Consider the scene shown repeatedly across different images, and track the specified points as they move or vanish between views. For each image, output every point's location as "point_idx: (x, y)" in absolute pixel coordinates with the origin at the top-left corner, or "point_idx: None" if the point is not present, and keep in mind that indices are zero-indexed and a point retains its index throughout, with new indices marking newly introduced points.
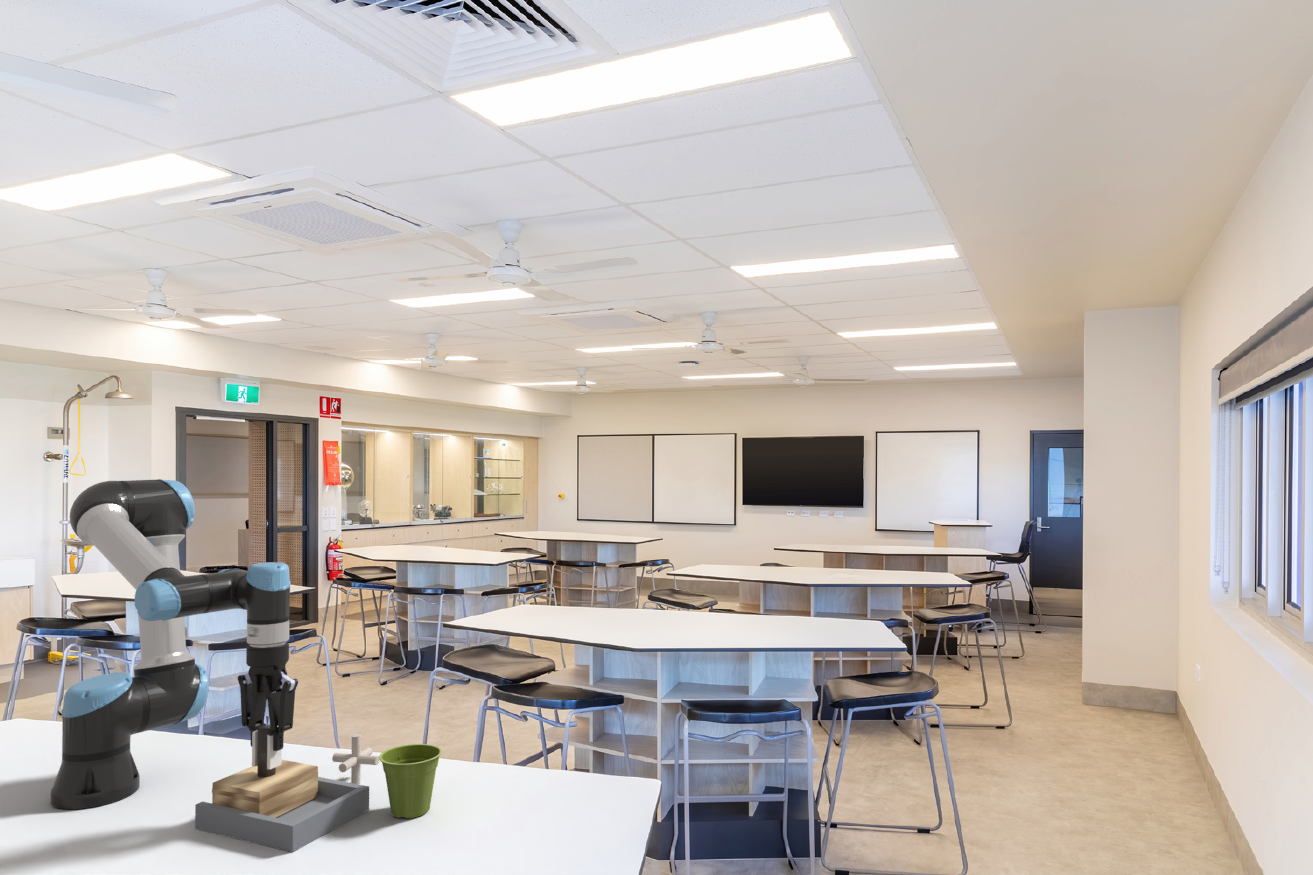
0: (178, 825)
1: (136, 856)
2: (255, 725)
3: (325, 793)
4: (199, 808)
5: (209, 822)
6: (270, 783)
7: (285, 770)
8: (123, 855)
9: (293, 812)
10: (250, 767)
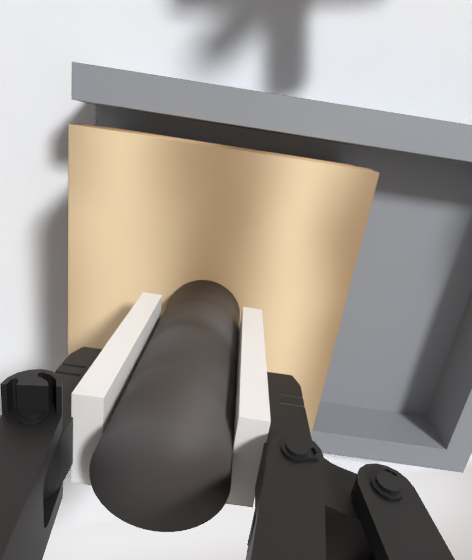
0: (37, 367)
1: (95, 495)
2: (47, 490)
3: (370, 147)
4: None
5: None
6: None
7: (254, 257)
8: (65, 497)
9: None
10: (71, 262)
